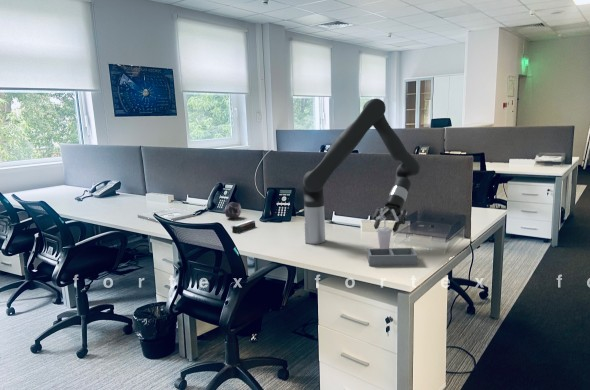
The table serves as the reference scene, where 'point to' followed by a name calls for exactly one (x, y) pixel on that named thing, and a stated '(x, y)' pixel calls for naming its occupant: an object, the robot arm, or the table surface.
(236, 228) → the dark brown flat block
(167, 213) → the award plaque
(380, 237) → the smoothie
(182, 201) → the table surface
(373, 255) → the caddy
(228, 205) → the mineral specimen
